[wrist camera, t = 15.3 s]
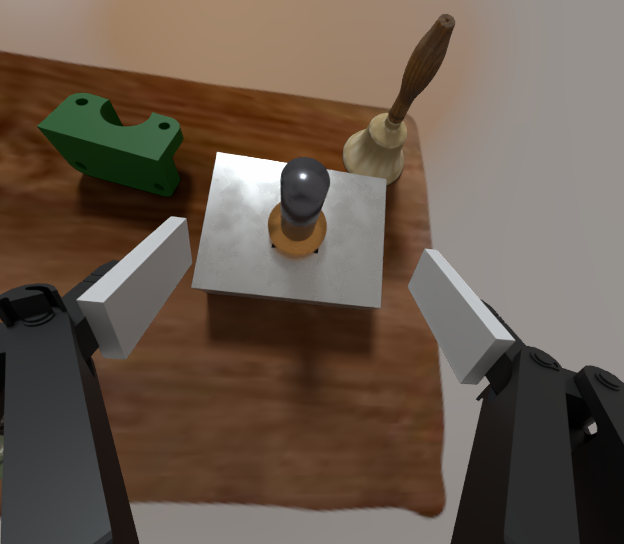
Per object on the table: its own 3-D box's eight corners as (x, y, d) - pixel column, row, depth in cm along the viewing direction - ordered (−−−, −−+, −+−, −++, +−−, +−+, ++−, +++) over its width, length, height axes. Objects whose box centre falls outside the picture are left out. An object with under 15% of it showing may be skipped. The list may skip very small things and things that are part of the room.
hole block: (206, 293, 28) (191, 287, 24) (227, 178, 31) (217, 152, 26) (364, 310, 30) (380, 308, 25) (370, 200, 33) (386, 179, 28)
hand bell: (331, 168, 33) (376, 33, 18) (358, 120, 35) (420, -41, 19) (388, 198, 33) (482, 91, 18) (412, 149, 35) (516, 13, 19)
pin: (267, 264, 30) (255, 214, 16) (273, 218, 31) (267, 134, 17) (315, 270, 30) (345, 227, 16) (319, 225, 31) (351, 148, 17)
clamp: (187, 179, 35) (200, 132, 28) (168, 213, 33) (176, 170, 25) (83, 123, 30) (66, 48, 23) (50, 158, 28) (19, 86, 20)
